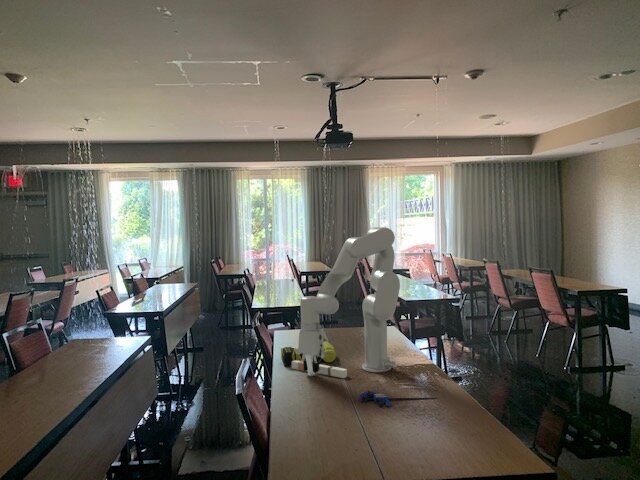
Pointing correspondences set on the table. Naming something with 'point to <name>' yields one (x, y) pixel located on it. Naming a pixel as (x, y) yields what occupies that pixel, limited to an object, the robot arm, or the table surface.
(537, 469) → the table surface
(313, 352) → the robot arm
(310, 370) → the milkshake
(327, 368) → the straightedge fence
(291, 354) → the cordless drill
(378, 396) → the bar clamp
